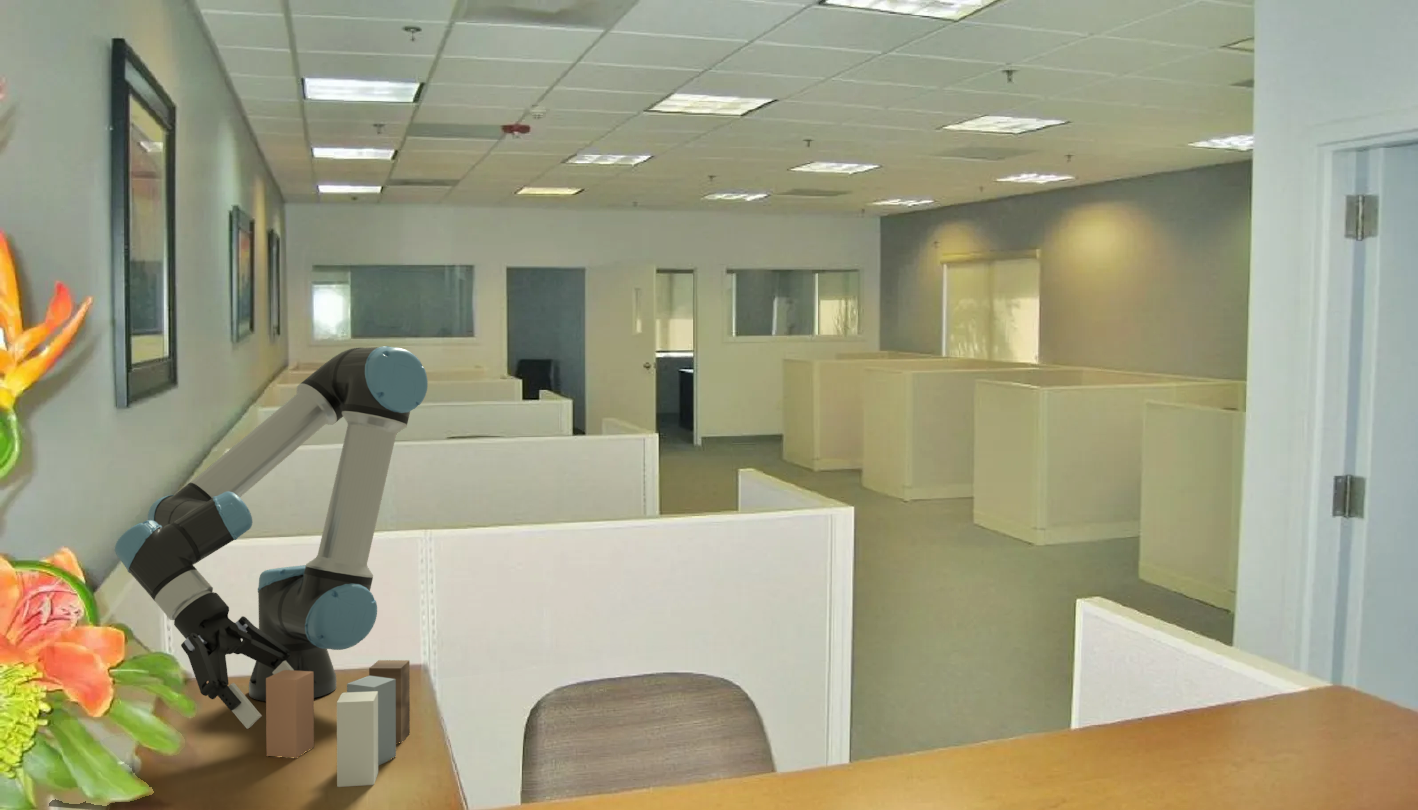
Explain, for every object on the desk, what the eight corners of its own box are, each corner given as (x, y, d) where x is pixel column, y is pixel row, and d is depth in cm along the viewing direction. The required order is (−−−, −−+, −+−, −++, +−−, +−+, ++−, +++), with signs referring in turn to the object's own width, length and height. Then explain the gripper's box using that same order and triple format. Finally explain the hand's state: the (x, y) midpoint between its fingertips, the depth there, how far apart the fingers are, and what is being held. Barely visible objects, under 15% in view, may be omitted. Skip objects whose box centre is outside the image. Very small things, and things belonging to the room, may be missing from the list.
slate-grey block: (369, 753, 173) (369, 675, 172) (395, 757, 171) (395, 678, 170) (347, 763, 168) (346, 683, 168) (374, 767, 166) (373, 687, 166)
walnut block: (379, 733, 182) (378, 660, 182) (409, 733, 182) (409, 660, 182) (369, 743, 177) (369, 668, 177) (401, 743, 177) (400, 668, 177)
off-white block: (342, 774, 163) (342, 692, 163) (378, 772, 164) (377, 691, 164) (337, 786, 158) (336, 702, 158) (373, 784, 159) (373, 700, 159)
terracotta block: (284, 746, 176) (284, 669, 175) (313, 747, 175) (313, 671, 175) (266, 756, 171) (265, 678, 171) (296, 758, 170) (296, 679, 170)
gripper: (227, 607, 187) (308, 702, 185) (122, 640, 163) (214, 751, 160) (256, 576, 186) (338, 672, 183) (154, 605, 162) (247, 716, 159)
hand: (280, 709), depth 172 cm, fingers open, 13 cm apart
